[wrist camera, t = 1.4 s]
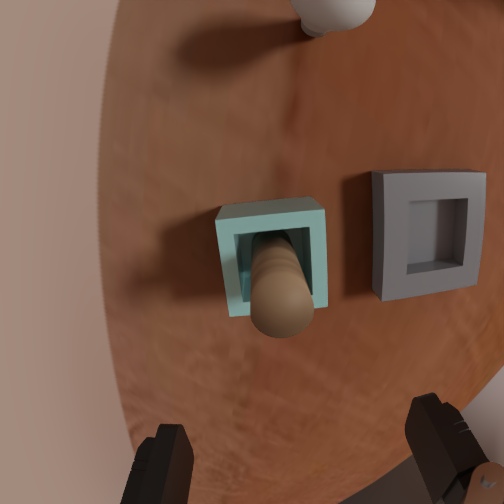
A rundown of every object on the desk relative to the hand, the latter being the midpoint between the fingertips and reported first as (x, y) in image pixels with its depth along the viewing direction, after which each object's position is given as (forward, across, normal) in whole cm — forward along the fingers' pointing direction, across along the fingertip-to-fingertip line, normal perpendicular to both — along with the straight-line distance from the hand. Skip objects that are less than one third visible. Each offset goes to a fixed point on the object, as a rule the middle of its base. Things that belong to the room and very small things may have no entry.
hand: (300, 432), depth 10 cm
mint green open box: (+22, 0, 0) cm, 22 cm away
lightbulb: (+22, -6, -20) cm, 30 cm away
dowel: (+21, 0, 0) cm, 21 cm away
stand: (+22, -16, 0) cm, 27 cm away
